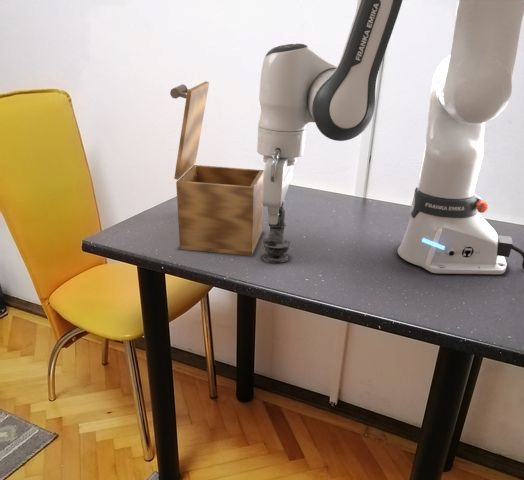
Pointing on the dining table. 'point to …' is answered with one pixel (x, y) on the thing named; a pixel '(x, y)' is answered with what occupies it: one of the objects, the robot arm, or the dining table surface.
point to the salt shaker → (277, 241)
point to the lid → (190, 124)
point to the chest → (220, 209)
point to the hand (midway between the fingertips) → (276, 215)
